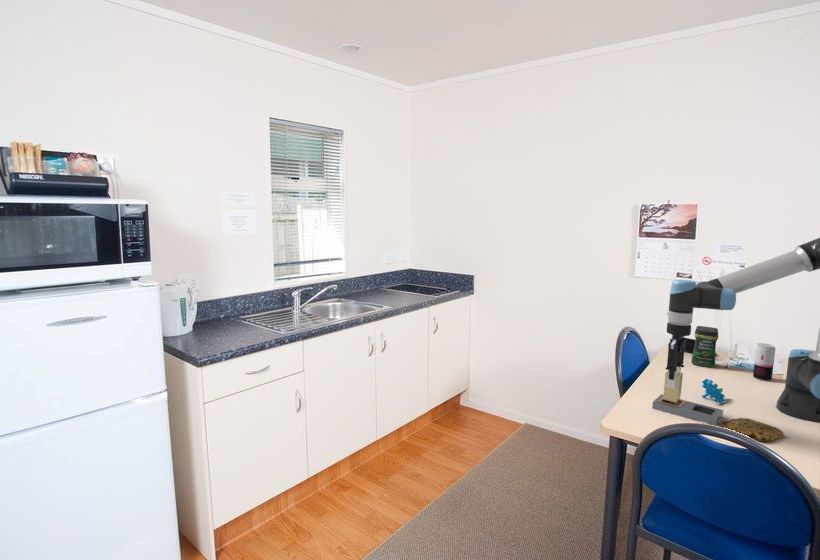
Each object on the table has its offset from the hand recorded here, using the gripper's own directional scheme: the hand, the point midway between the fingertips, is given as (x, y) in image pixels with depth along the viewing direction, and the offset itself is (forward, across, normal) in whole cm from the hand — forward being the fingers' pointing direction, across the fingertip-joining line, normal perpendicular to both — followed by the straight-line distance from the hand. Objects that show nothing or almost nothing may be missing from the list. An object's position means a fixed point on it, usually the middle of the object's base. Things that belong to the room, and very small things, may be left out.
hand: (673, 385), depth 169 cm
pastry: (+9, +1, +24) cm, 26 cm away
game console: (+9, -86, -11) cm, 87 cm away
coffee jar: (+9, -67, -4) cm, 68 cm away
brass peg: (+5, 0, 0) cm, 5 cm away
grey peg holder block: (+9, 0, +5) cm, 10 cm away
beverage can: (+9, -64, +19) cm, 67 cm away
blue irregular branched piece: (+9, -20, +9) cm, 24 cm away
